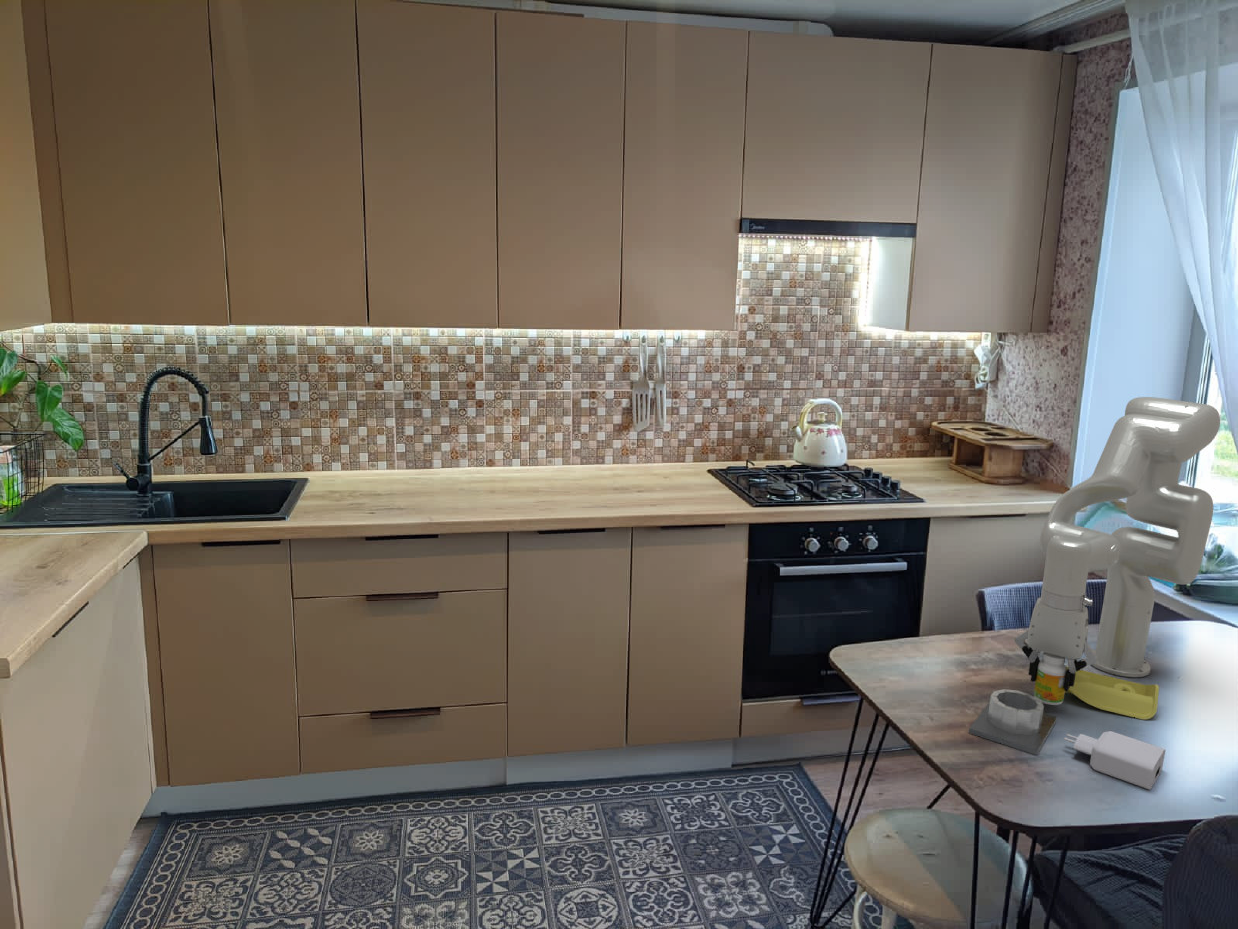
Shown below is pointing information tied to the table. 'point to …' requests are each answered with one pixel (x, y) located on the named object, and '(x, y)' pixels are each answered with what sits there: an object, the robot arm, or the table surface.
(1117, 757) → the charger
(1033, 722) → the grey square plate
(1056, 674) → the supplement bottle
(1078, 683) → the plastic component
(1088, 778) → the table surface
